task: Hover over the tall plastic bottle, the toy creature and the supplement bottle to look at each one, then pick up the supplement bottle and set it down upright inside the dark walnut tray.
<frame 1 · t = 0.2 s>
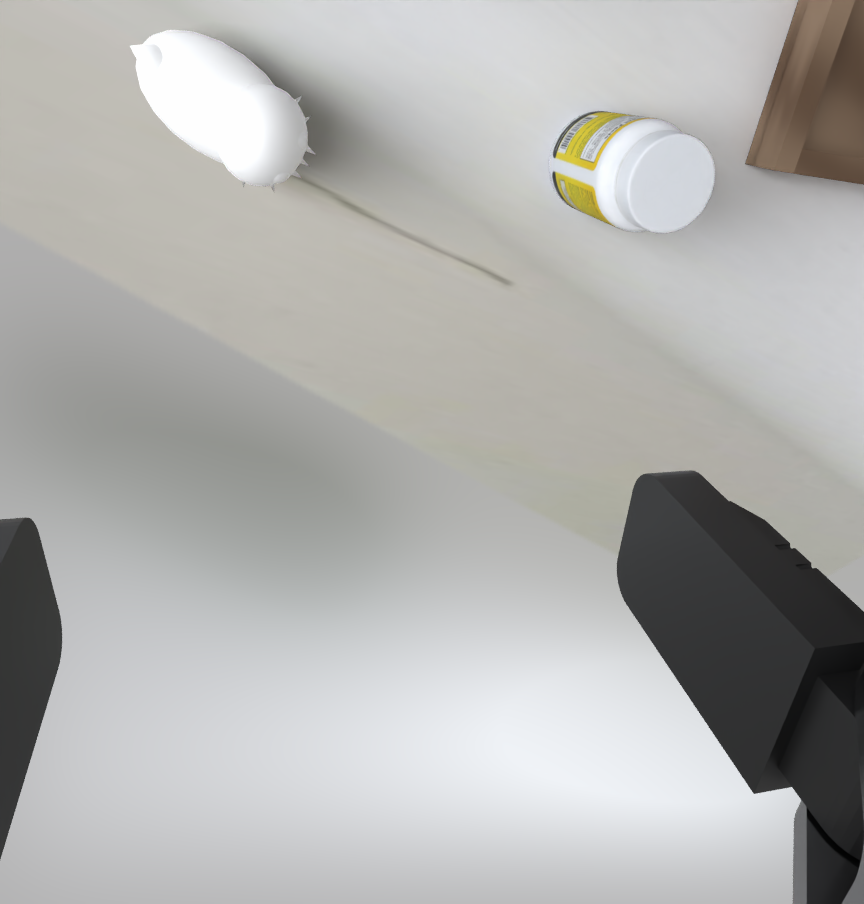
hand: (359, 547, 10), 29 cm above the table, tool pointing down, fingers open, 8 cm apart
supplement bottle: (588, 160, 37), on the table
toy creature: (227, 106, 33), on the table
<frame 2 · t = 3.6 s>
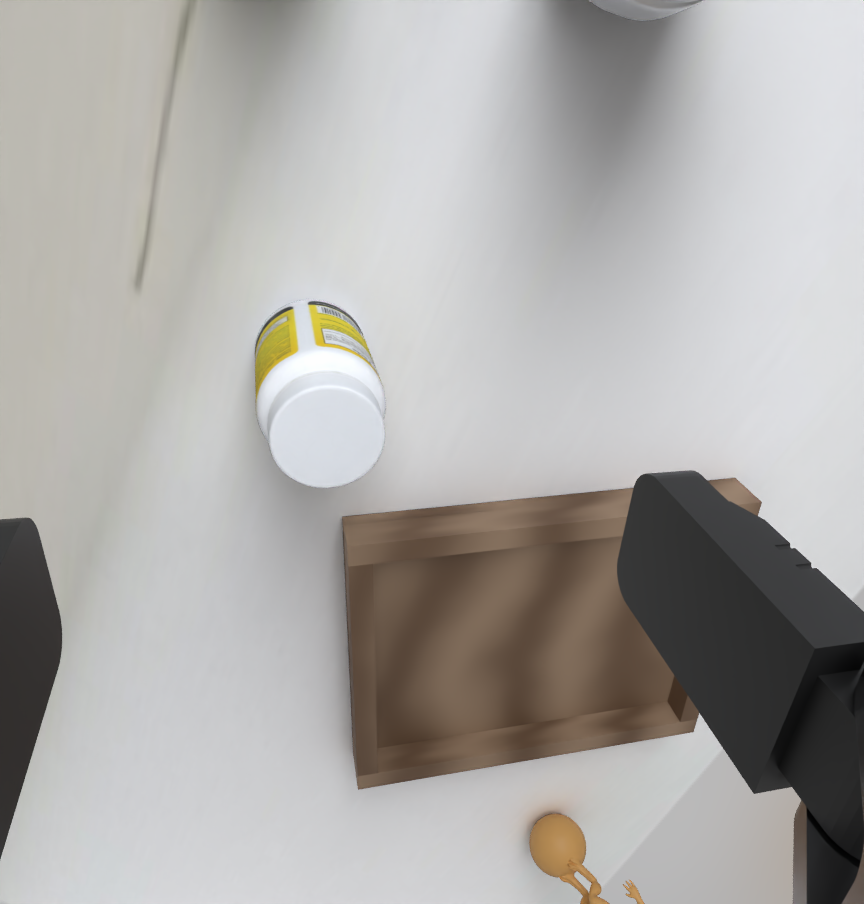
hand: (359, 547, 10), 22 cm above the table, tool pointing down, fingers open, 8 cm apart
supplement bottle: (311, 347, 32), on the table
walnut tray: (533, 623, 43), on the table
figurine: (559, 817, 53), on the table
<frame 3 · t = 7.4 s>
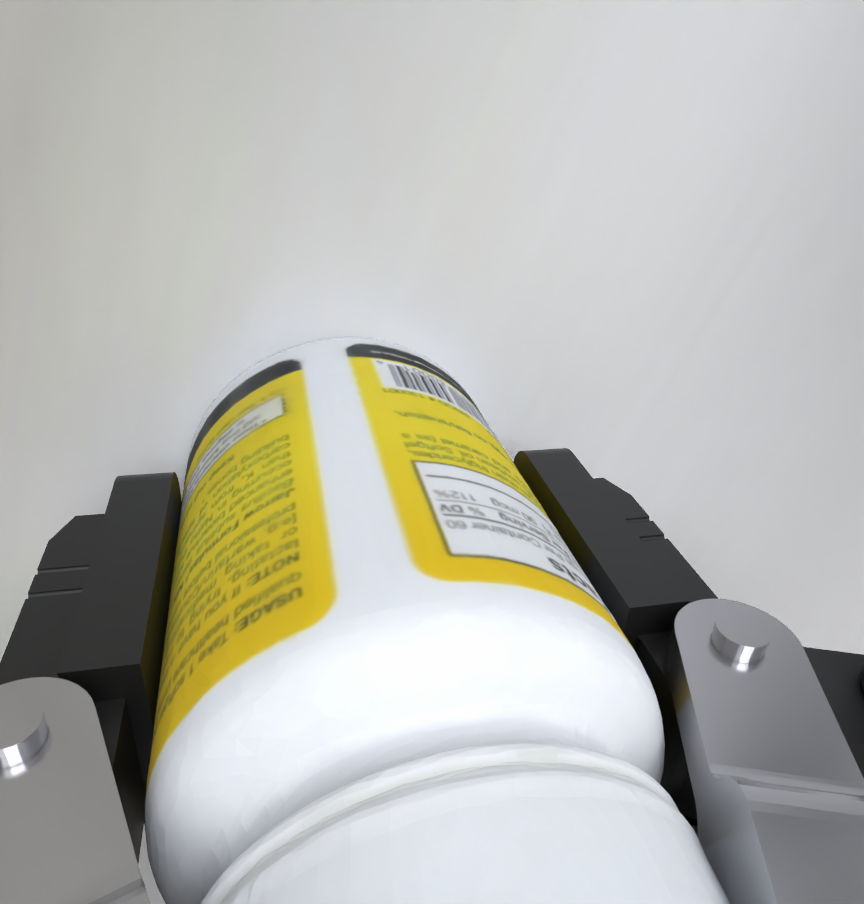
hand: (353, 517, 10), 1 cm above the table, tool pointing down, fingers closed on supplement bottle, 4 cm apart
supplement bottle: (342, 462, 12), on the table, touching gripper
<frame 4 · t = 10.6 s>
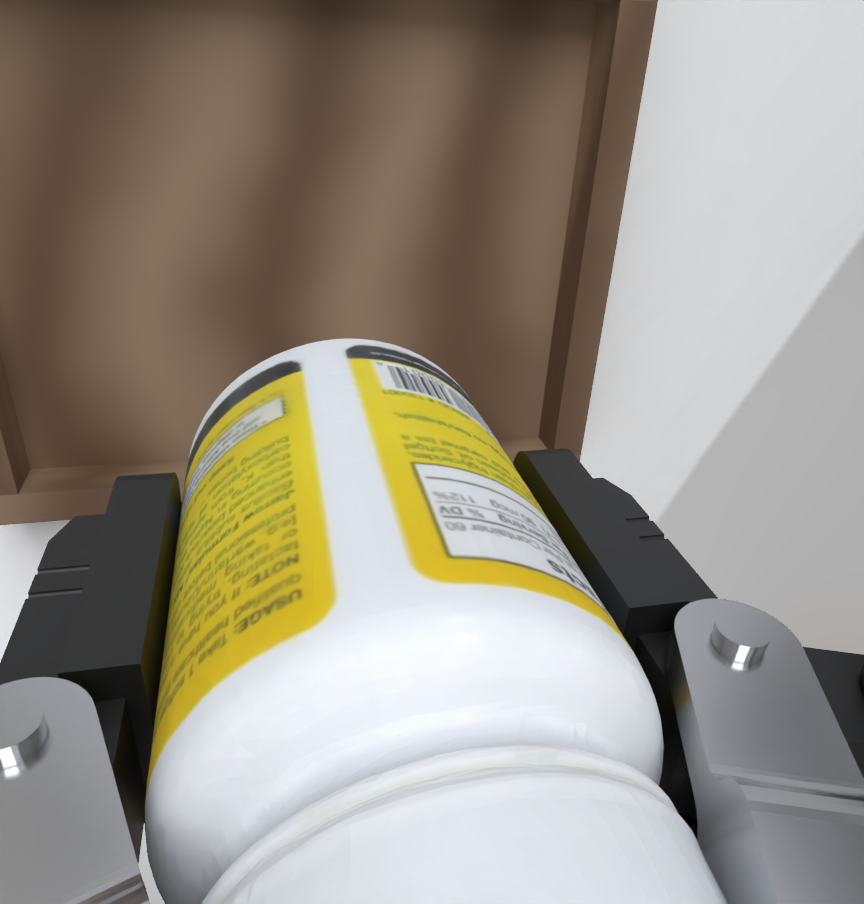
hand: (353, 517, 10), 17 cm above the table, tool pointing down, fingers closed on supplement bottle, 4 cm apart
supplement bottle: (342, 463, 12), point 16 cm above the table, touching gripper
walnut tray: (293, 246, 25), on the table
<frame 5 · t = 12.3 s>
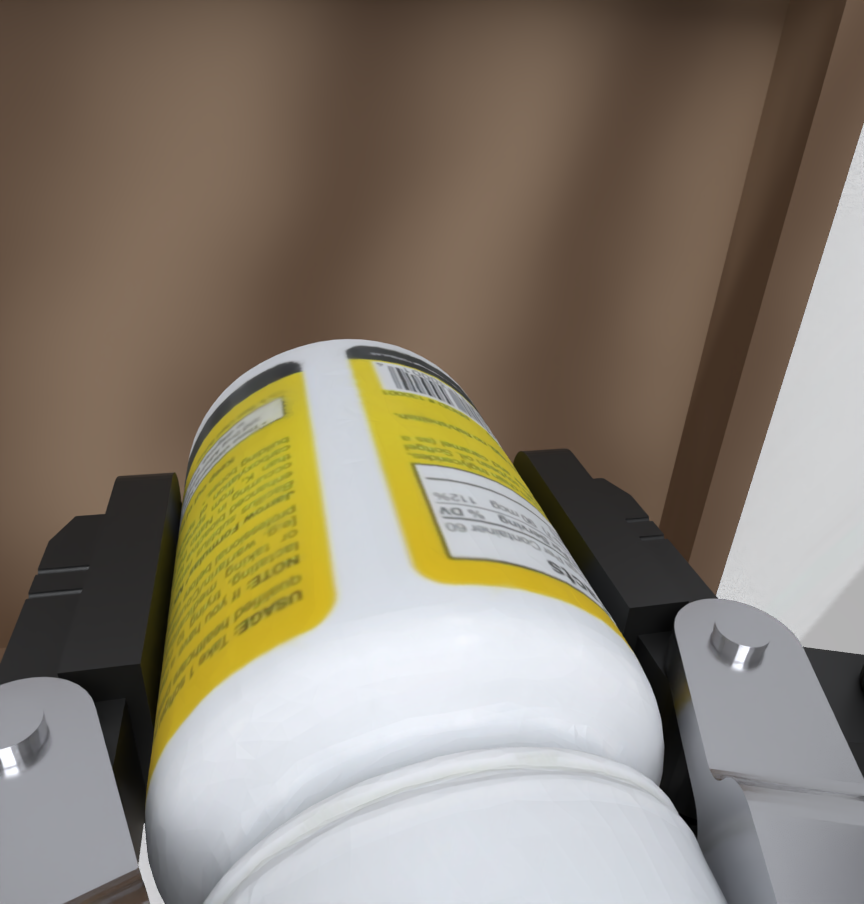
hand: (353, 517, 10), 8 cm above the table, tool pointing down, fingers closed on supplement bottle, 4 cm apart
supplement bottle: (342, 463, 12), point 6 cm above the table, touching gripper
walnut tray: (316, 338, 17), on the table
when the fingers open (4 cm above the table, at t = 13.9 s): supplement bottle drops 2 cm, resting on walnut tray.
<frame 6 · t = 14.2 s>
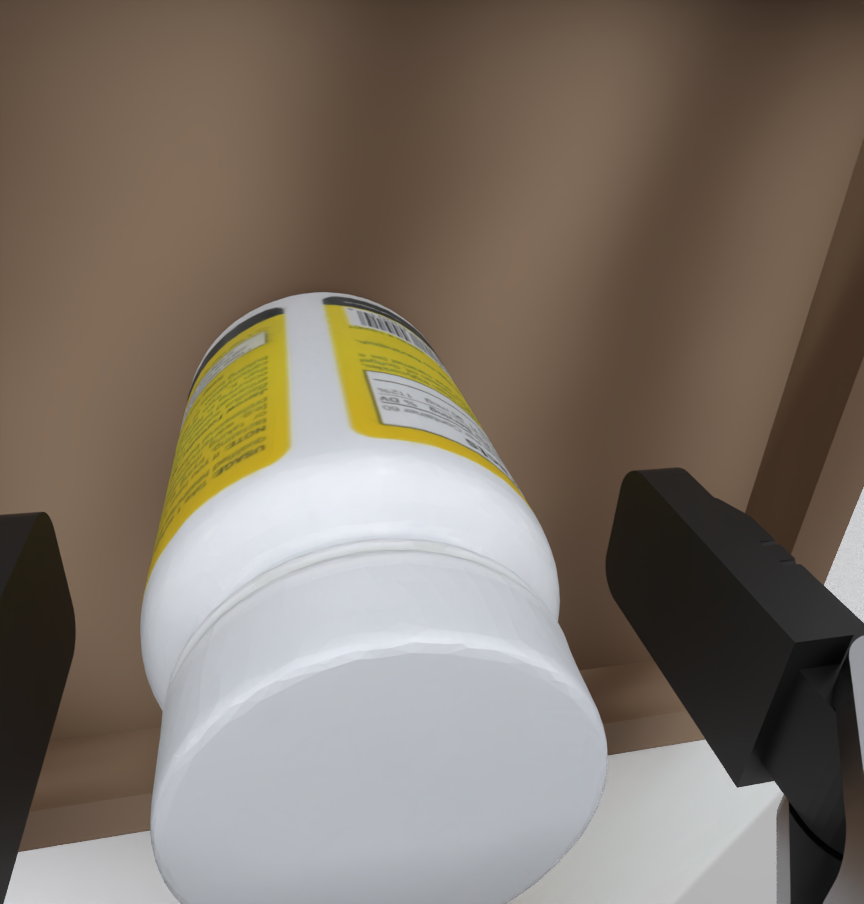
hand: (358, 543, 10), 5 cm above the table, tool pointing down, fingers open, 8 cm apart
supplement bottle: (323, 408, 14), point 1 cm above the table, touching walnut tray
walnut tray: (325, 393, 14), on the table
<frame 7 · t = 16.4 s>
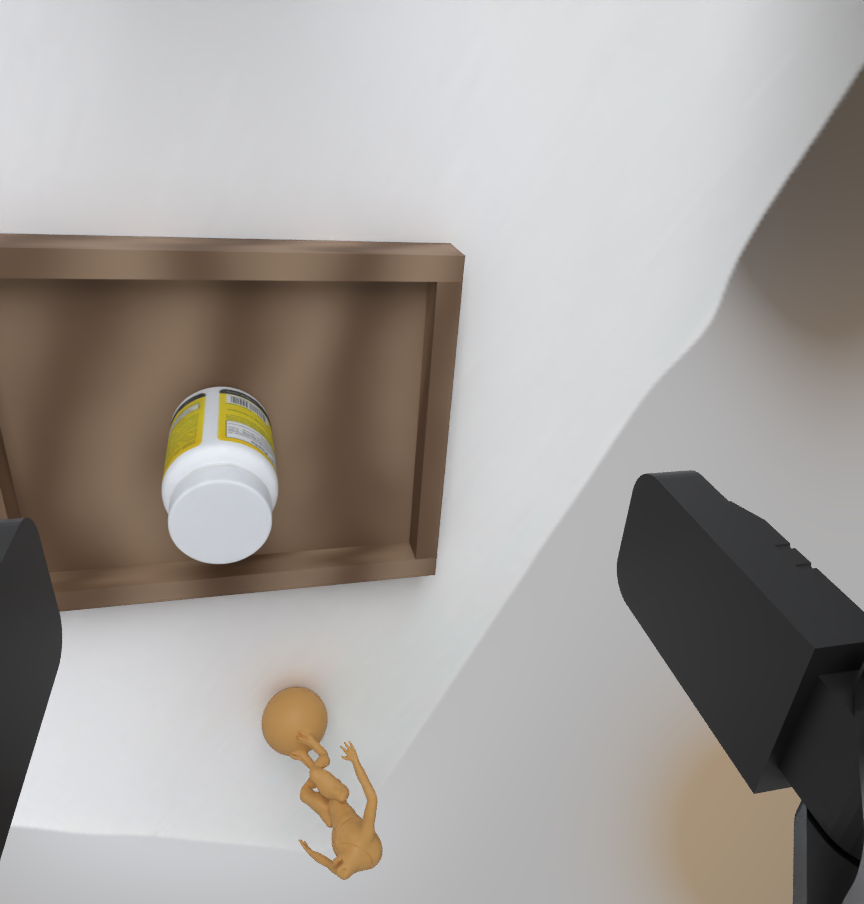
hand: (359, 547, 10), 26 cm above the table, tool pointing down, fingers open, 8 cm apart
supplement bottle: (222, 426, 36), point 1 cm above the table, touching walnut tray
walnut tray: (224, 421, 36), on the table
figurine: (307, 695, 47), on the table
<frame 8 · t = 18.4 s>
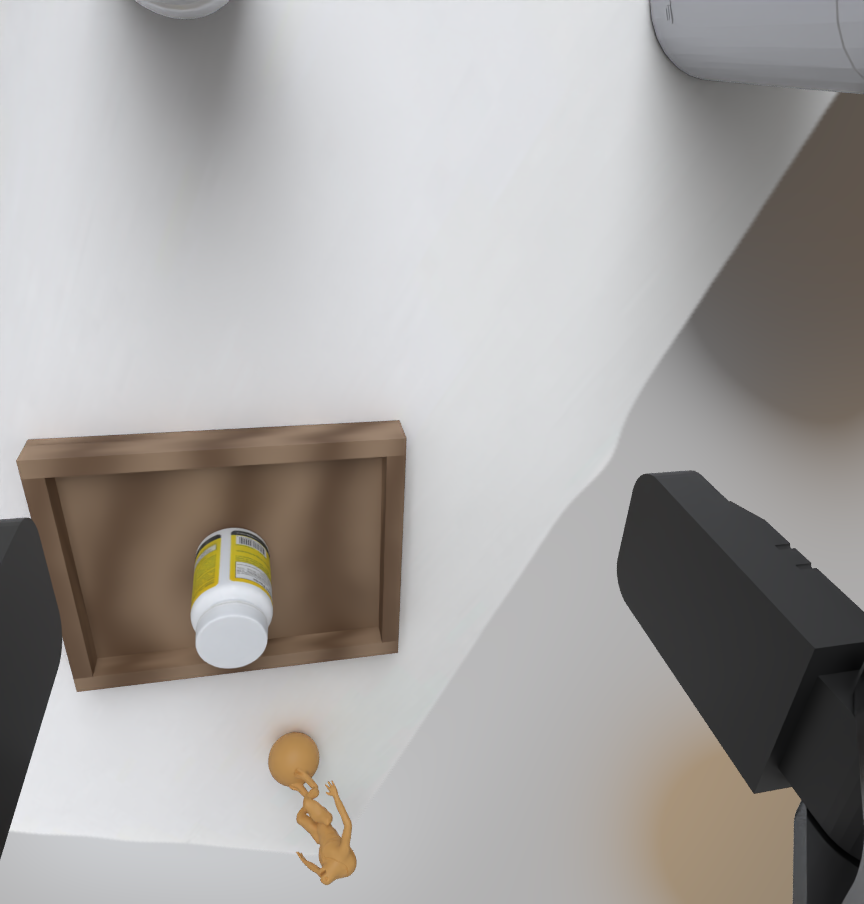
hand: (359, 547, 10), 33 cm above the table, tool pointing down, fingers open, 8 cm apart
supplement bottle: (233, 553, 48), point 1 cm above the table, touching walnut tray
walnut tray: (235, 547, 49), on the table
figurine: (304, 737, 59), on the table
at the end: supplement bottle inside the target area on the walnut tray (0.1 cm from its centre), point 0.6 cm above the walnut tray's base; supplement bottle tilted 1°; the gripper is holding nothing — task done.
